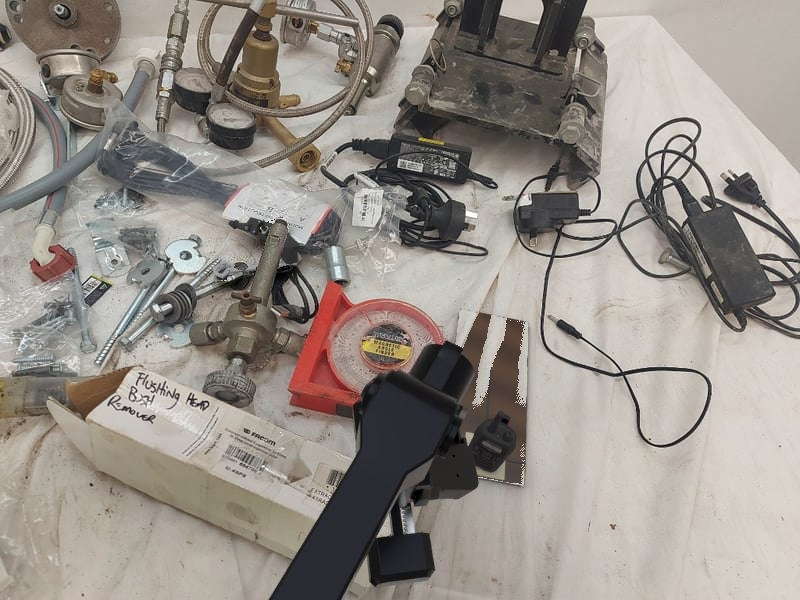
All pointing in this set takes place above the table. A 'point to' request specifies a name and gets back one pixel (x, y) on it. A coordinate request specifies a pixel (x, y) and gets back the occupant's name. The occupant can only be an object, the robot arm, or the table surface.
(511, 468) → the board
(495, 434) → the two-way radio
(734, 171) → the table surface
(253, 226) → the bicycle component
